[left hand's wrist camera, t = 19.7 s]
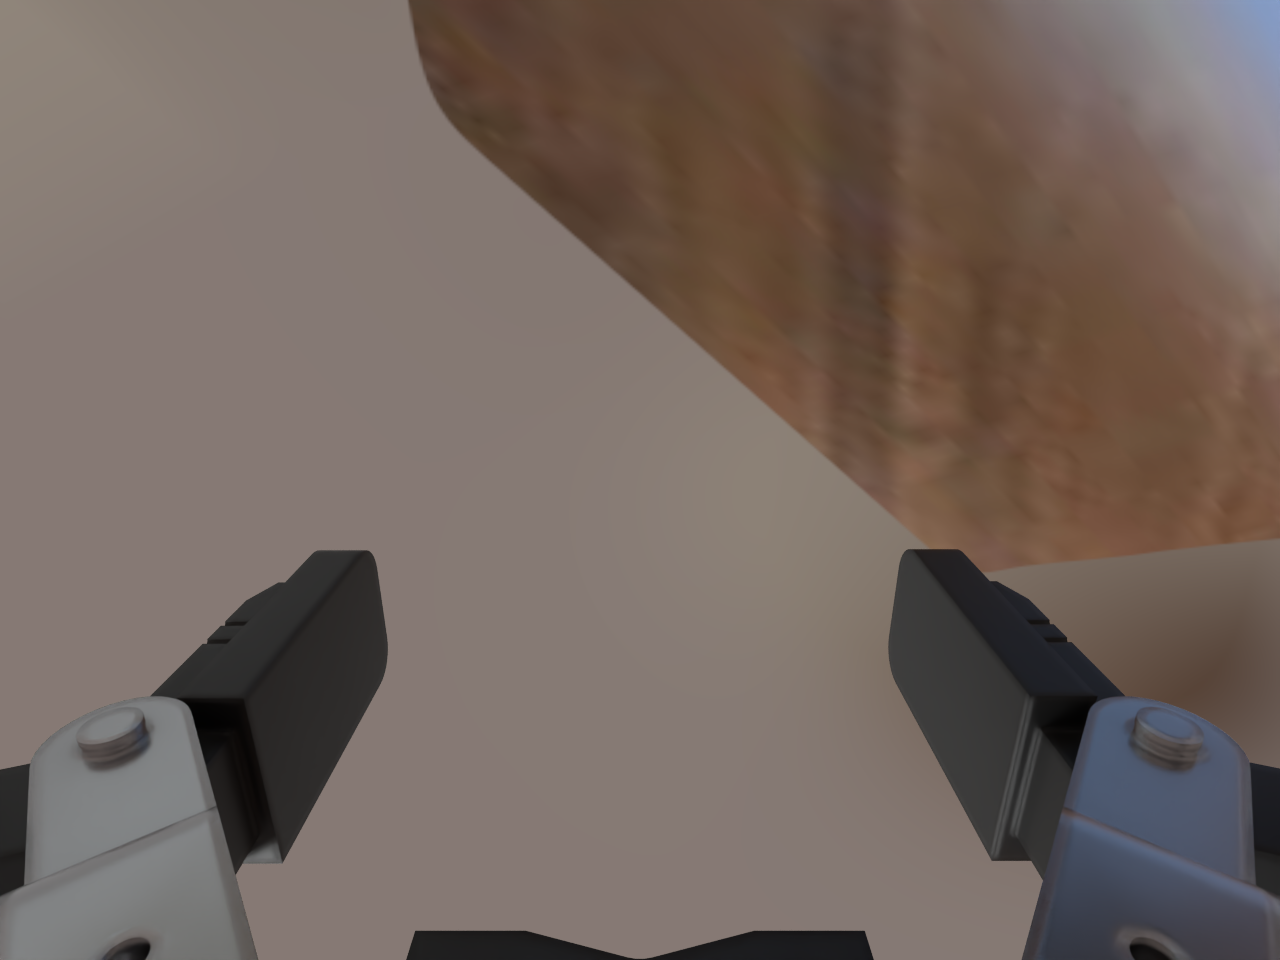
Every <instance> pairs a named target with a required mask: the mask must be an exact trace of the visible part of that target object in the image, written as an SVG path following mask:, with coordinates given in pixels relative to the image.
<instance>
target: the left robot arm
mask: <svg viewBox="0 0 1280 960" xmlns="http://www.w3.org/2000/svg"><path fill="white" fill-rule="evenodd" d="M888 648H889V661H890V667H891V671H892V675H893V678H894V680H895V682H896V684H897V686H898V688H899V690H900V692H901V693H902V695H903V697H904V699H905V701H906V703H907V704H908V706H909V708H910V710H911V712H912V714H913V716H914V717H915V719H916V721H917V723H918V725H919V727H920V729H921V730H922V732H923V734H924V736H925V738H926V740H927V741H928V743H929V745H930V747H931V749H932V751H933V753H934V754H935V756H936V758H937V760H938V762H939V764H940V766H941V767H942V769H943V771H944V773H945V775H946V777H947V779H948V780H949V782H950V784H951V786H952V788H953V790H954V791H955V793H956V795H957V797H958V799H959V801H960V803H961V804H962V806H963V808H964V810H965V812H966V814H967V816H968V817H969V819H970V821H971V823H972V825H973V827H974V829H975V830H976V832H977V834H978V836H979V838H980V840H981V841H982V843H983V845H984V847H985V849H986V851H987V853H988V854H989V856H990V858H991V860H992V861H1032V863H1033V864H1034V866H1035V868H1036V869H1037V871H1038V873H1039V874H1040V876H1041V878H1042V879H1043V883H1042V887H1041V890H1040V894H1039V898H1038V901H1037V905H1036V909H1035V912H1034V916H1033V920H1032V924H1031V928H1030V931H1029V935H1028V938H1027V942H1026V946H1025V950H1024V953H1023V957H1022V960H1280V769H1279V768H1274V767H1269V766H1264V765H1259V764H1254V763H1249V760H1248V758H1247V756H1246V754H1245V753H1244V751H1243V750H1242V749H1241V748H1240V746H1239V745H1238V744H1237V743H1236V742H1235V741H1234V740H1233V739H1232V738H1231V737H1230V736H1228V735H1227V734H1226V733H1224V732H1223V731H1222V730H1220V729H1219V728H1218V727H1216V726H1214V725H1213V724H1211V723H1210V722H1208V721H1206V720H1204V719H1202V718H1200V717H1199V716H1197V715H1195V714H1192V713H1190V712H1188V711H1186V710H1183V709H1181V708H1178V707H1175V706H1172V705H1170V704H1166V703H1163V702H1159V701H1155V700H1151V699H1146V698H1139V697H1127V696H1125V695H1124V694H1123V693H1122V692H1121V691H1120V690H1119V689H1118V688H1117V687H1116V686H1115V685H1114V684H1113V683H1112V682H1111V681H1110V680H1109V679H1108V678H1107V677H1106V676H1105V675H1104V674H1103V673H1102V672H1101V671H1100V670H1099V669H1098V668H1097V667H1096V666H1095V665H1094V664H1093V663H1092V662H1091V661H1090V660H1089V659H1088V658H1087V657H1086V656H1085V655H1084V654H1083V653H1082V652H1081V651H1080V650H1079V649H1078V648H1077V647H1076V646H1075V645H1074V644H1073V643H1072V642H1067V637H1066V636H1065V635H1064V634H1063V633H1062V632H1061V631H1060V630H1059V629H1058V628H1057V627H1056V626H1055V625H1054V624H1050V623H1049V619H1048V618H1047V617H1046V616H1045V615H1044V614H1043V613H1042V612H1041V611H1040V610H1039V609H1038V608H1037V607H1036V606H1035V605H1034V604H1033V603H1032V602H1031V601H1030V600H1029V599H1027V598H1026V597H1024V596H1022V595H1020V594H1019V593H1017V592H1015V591H1013V590H1011V589H1010V588H1008V587H1006V586H1004V585H1002V584H1001V583H999V582H997V581H989V580H988V579H987V578H986V577H985V576H984V574H983V573H982V572H981V571H980V570H979V569H978V568H977V567H976V566H975V565H974V564H973V563H972V562H971V561H970V560H969V559H968V557H967V556H966V555H965V554H964V553H963V552H962V551H960V550H958V549H908V550H906V551H905V552H904V554H903V555H902V558H901V561H900V565H899V571H898V578H897V585H896V592H895V599H894V606H893V613H892V620H891V627H890V634H889V646H888ZM387 655H388V642H387V634H386V628H385V620H384V614H383V606H382V600H381V593H380V586H379V579H378V572H377V566H376V562H375V559H374V556H373V555H372V553H371V552H370V551H367V550H366V551H365V550H361V551H360V550H351V551H350V550H348V551H347V550H342V551H341V550H335V551H333V550H328V551H326V550H321V551H316V552H314V553H313V554H312V555H311V556H310V557H309V558H308V559H307V560H306V561H305V562H304V563H303V564H302V565H301V566H300V568H299V569H298V570H297V571H296V572H295V573H294V574H293V575H292V576H291V577H290V578H289V579H288V580H287V581H286V582H285V583H277V584H275V585H273V586H272V587H270V588H268V589H266V590H264V591H263V592H261V593H259V594H257V595H255V596H254V597H252V598H250V599H248V600H247V601H245V602H244V604H242V605H241V606H240V607H239V608H238V610H236V611H235V612H234V613H233V614H232V615H231V616H230V617H229V618H228V619H227V620H226V622H225V626H220V627H219V628H218V629H217V630H216V631H215V632H214V633H213V634H212V635H211V636H210V637H209V638H208V642H207V644H202V645H201V646H200V647H199V648H198V649H197V650H196V651H195V652H194V653H193V654H192V655H191V656H190V657H189V658H188V659H187V660H186V661H185V662H184V663H183V664H182V665H181V666H180V667H179V668H178V669H177V670H176V671H175V672H174V673H173V674H172V675H171V676H170V677H169V678H168V679H167V680H166V681H165V682H164V683H163V684H162V685H161V686H160V687H159V688H158V689H157V690H156V691H155V692H154V693H153V694H152V695H151V696H150V697H141V698H134V699H129V700H125V701H121V702H117V703H114V704H110V705H108V706H105V707H102V708H99V709H97V710H94V711H92V712H90V713H88V714H85V715H83V716H82V717H80V718H78V719H76V720H74V721H72V722H70V723H69V724H67V725H66V726H64V727H62V728H61V729H60V730H58V731H57V732H56V733H54V734H53V735H52V736H50V737H49V738H48V739H47V740H46V741H45V742H44V743H43V744H42V745H41V746H40V748H39V749H38V750H37V751H36V753H35V754H34V756H33V758H32V760H31V763H30V764H26V765H21V766H16V767H11V768H7V769H2V770H0V960H258V957H257V953H256V950H255V946H254V942H253V938H252V935H251V931H250V927H249V924H248V920H247V916H246V912H245V909H244V905H243V901H242V898H241V894H240V890H239V887H238V883H237V879H236V873H237V872H238V870H239V868H240V867H241V865H242V863H283V861H284V859H285V858H286V856H287V854H288V852H289V850H290V848H291V847H292V845H293V843H294V841H295V839H296V837H297V836H298V834H299V832H300V830H301V828H302V826H303V825H304V823H305V821H306V819H307V817H308V815H309V814H310V812H311V810H312V808H313V806H314V804H315V803H316V801H317V799H318V797H319V795H320V794H321V792H322V790H323V788H324V786H325V784H326V783H327V781H328V779H329V777H330V775H331V773H332V772H333V770H334V768H335V766H336V764H337V762H338V761H339V759H340V757H341V755H342V753H343V751H344V750H345V748H346V746H347V744H348V742H349V741H350V739H351V737H352V735H353V733H354V731H355V729H356V728H357V726H358V724H359V722H360V720H361V719H362V717H363V715H364V713H365V711H366V709H367V708H368V706H369V704H370V702H371V700H372V698H373V697H374V695H375V693H376V691H377V689H378V687H379V686H380V684H381V681H382V679H383V676H384V673H385V669H386V664H387ZM406 960H874V959H873V956H872V953H871V950H870V946H869V943H868V940H867V937H866V934H865V931H752V932H748V933H744V934H740V935H737V936H733V937H729V938H725V939H721V940H718V941H714V942H710V943H706V944H702V945H698V946H695V947H691V948H687V949H683V950H679V951H676V952H672V953H668V954H664V955H660V956H656V957H653V958H647V959H633V958H627V957H624V956H620V955H616V954H612V953H608V952H604V951H601V950H597V949H593V948H589V947H585V946H582V945H578V944H574V943H570V942H566V941H562V940H558V939H555V938H551V937H547V936H543V935H540V934H536V933H532V932H528V931H415V934H414V937H413V940H412V943H411V946H410V950H409V953H408V956H407V959H406Z"/></svg>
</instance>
